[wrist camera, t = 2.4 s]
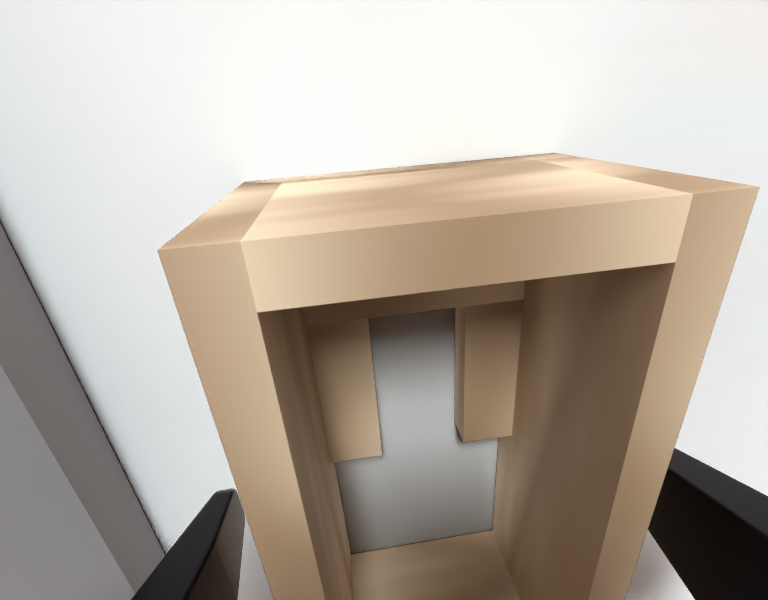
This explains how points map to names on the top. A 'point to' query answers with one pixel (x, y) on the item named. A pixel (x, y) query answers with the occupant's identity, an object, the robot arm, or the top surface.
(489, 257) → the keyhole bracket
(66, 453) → the grey plate with ball
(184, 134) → the top surface
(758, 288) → the top surface
